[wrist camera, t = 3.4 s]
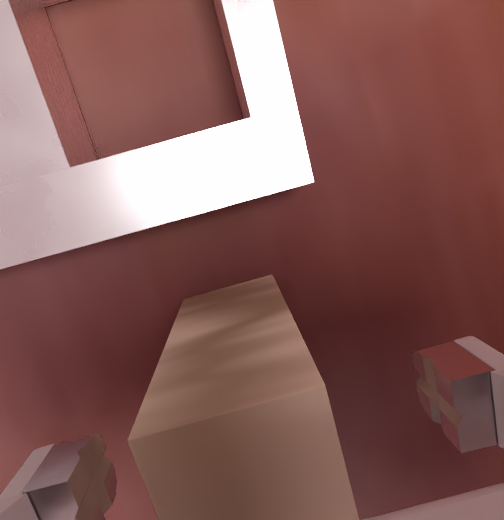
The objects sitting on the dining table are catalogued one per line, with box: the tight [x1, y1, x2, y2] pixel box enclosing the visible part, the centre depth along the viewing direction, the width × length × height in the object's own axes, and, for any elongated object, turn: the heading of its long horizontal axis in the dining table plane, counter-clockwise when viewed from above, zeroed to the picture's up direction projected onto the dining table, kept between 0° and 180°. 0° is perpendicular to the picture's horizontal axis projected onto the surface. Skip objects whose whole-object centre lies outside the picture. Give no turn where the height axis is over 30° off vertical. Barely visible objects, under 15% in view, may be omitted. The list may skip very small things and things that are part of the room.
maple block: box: [127, 274, 359, 520], centre depth 12 cm, size 4×4×9 cm
